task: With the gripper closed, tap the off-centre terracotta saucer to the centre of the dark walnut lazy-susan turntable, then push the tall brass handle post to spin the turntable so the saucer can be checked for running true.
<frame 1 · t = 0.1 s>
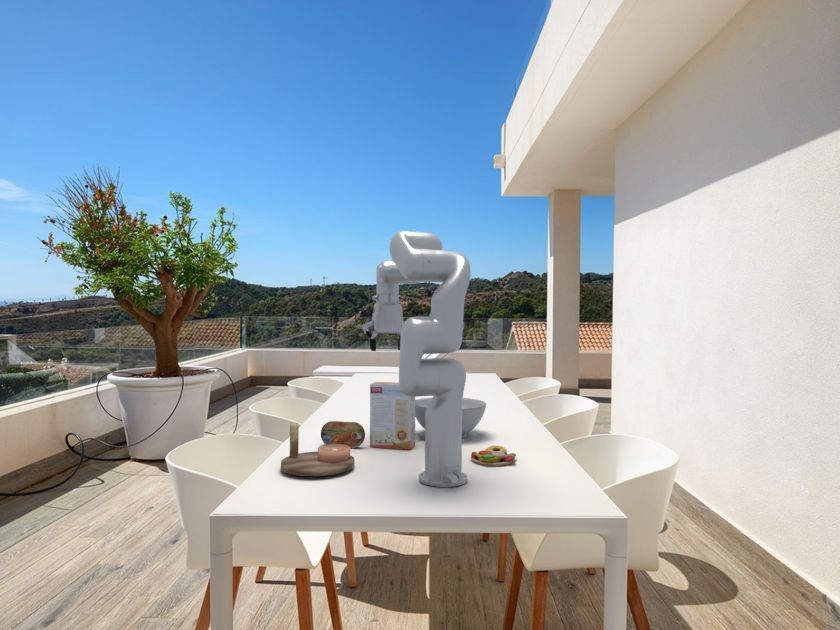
hand: (387, 350, 180), 31 cm above the table, fingers open, 9 cm apart
toy food set: (493, 462, 158), on the table
turntable: (318, 445, 148), point 6 cm above the table, hinge at 0.0°, touching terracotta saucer
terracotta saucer: (334, 458, 150), point 2 cm above the table, touching turntable
turntable base: (318, 469, 148), on the table
tin: (343, 447, 175), on the table
cracker box: (392, 447, 175), on the table
decorative bowl: (448, 436, 191), on the table
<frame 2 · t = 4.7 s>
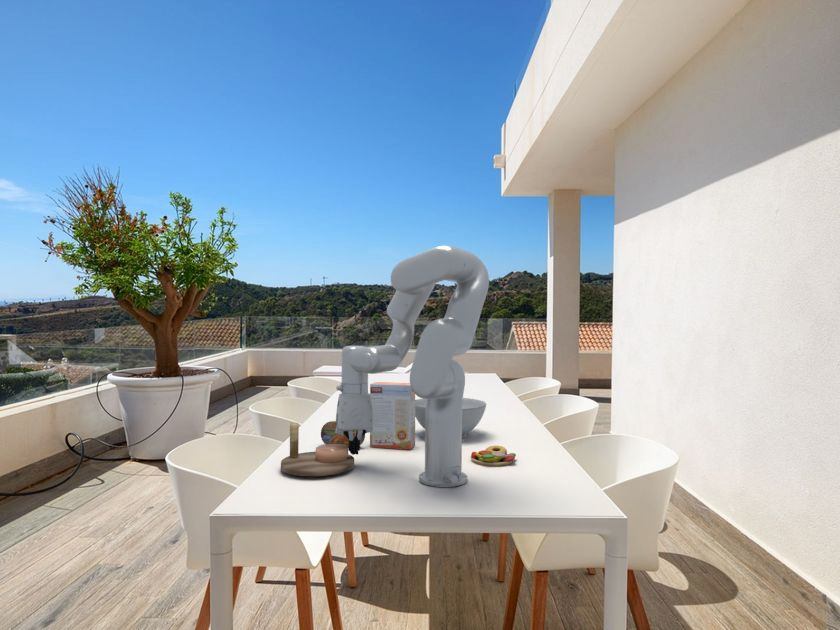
hand: (354, 453, 152), 3 cm above the table, fingers closed
turntable: (318, 445, 148), point 6 cm above the table, hinge at 0.0°
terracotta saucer: (331, 458, 150), point 3 cm above the table
everything else where it was.
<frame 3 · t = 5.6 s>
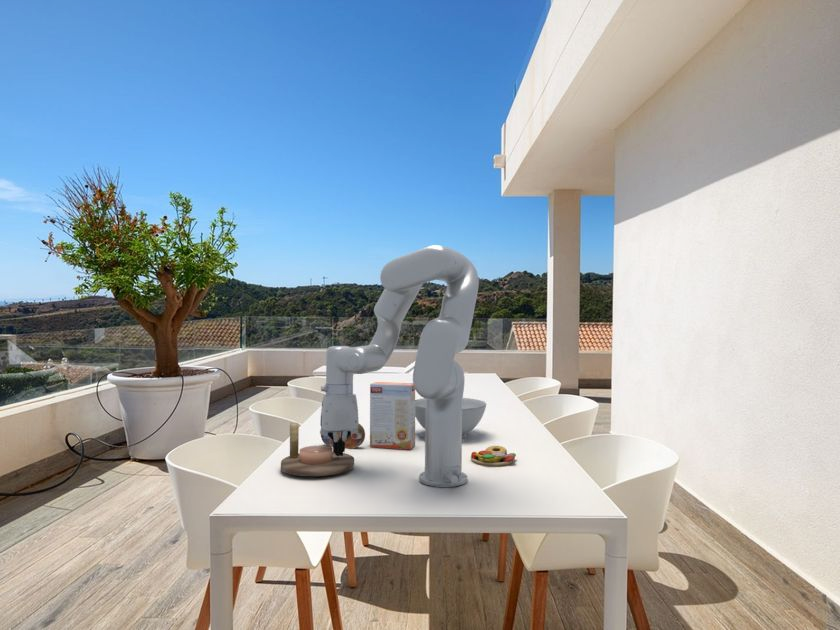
hand: (338, 454, 151), 3 cm above the table, fingers closed
turntable: (318, 445, 148), point 6 cm above the table, hinge at 0.0°, touching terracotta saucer
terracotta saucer: (316, 460, 148), point 2 cm above the table, touching gripper, turntable
everything else where it was.
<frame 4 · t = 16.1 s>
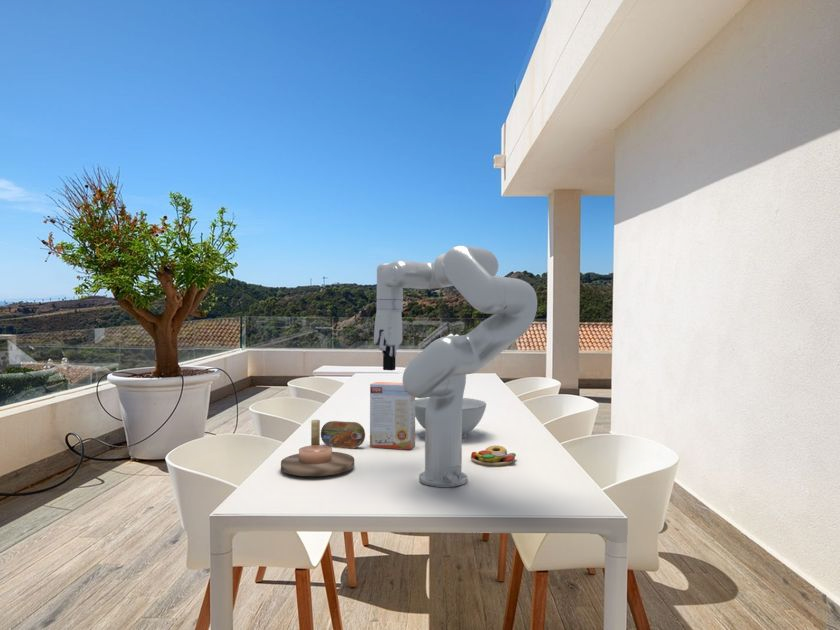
hand: (389, 369, 154), 27 cm above the table, fingers closed
turntable: (318, 445, 148), point 6 cm above the table, hinge at -51.1°, touching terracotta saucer
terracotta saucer: (315, 459, 149), point 2 cm above the table, touching turntable
everything else where it was.
at the end: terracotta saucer 1.0 cm from the turntable (horizontally); turntable at -51° (first picture: +0°); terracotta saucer point 2.5 cm above the table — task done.
